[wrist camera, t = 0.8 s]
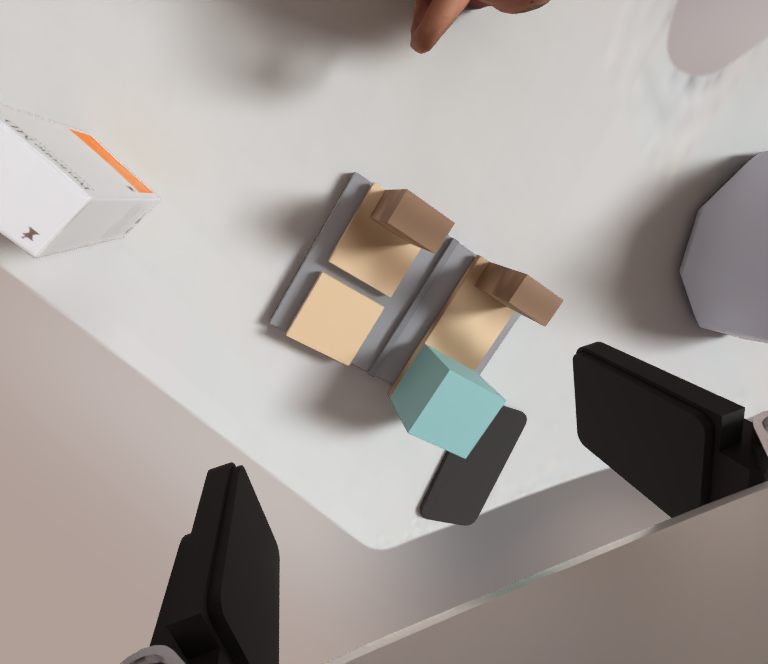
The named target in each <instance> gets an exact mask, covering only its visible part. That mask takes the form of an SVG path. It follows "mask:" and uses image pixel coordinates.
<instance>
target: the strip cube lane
mask: <svg viewBox="0 0 768 664" xmlns="http://www.w3.org/2000/svg"><path fill="white" fill-rule="evenodd" d="M562 302H563V300H562V299H561V298H560V297H558V296H557V295H555V294H554V293H553V292H551V291H550V290H548V289H547V288H546V287H544V286H543V285H541V284H540V283H538V282H537V281H536V280H534V279H533V278H531V277H530V276H529V275H527V274H524V273H521V272H518V271H515V270H512V269H509V268H506V267H503V266H500V265H497V264H494V263H491V262H489V261H487V260H486V259H484V258H483V257H481V256H479V255H476V257H475V258H474V260H473V261H472V263H471V265H470V266H469V268H468V269H467V271H466V272H465V274H464V275H463V277H462V279H461V280H460V282H459V283H458V285H457V286H456V288H455V289H454V291H453V293H452V294H451V296H450V297H449V299H448V300H447V302H446V304H445V305H444V307H443V308H442V310H441V311H440V313H439V314H438V316H437V318H436V319H435V321H434V322H433V324H432V325H431V327H430V328H429V330H428V332H427V333H426V335H425V336H424V338H423V339H422V341H421V342H420V344H419V346H418V347H417V349H416V350H415V352H414V353H413V355H412V356H411V358H410V360H409V361H408V363H407V364H406V366H405V367H404V369H403V371H402V372H401V374H400V375H399V377H398V378H397V380H396V381H395V383H394V385H393V386H392V388H391V389H390V391H389V392H388V396H389V398H390V396H391V395H392V393H393V392H394V390H395V389H396V387H397V385H398V384H399V382H400V381H401V379H402V378H403V376H404V375H405V373H406V371H407V370H408V368H409V367H410V365H411V364H412V362H413V361H414V359H415V358H416V356H417V354H418V353H419V351H420V350H421V348H422V347H423V345H424V344H427V345H429V346H430V347H432V348H434V349H436V350H438V351H439V352H441V353H443V354H445V355H447V356H448V357H450V358H452V359H454V360H456V361H457V362H459V363H461V364H463V365H465V366H467V367H468V368H470V369H472V370H474V371H475V370H476V368H477V367H478V365H479V364H480V362H481V361H482V359H483V358H484V356H485V355H486V353H487V352H488V350H489V349H490V347H491V346H492V344H493V343H494V341H495V340H496V338H497V337H498V335H499V334H500V332H501V331H502V330H503V328H504V327H505V325H506V324H507V322H508V321H509V319H510V318H511V316H512V315H513V313H514V312H515V311H516V312H518V313H520V314H522V315H524V316H526V317H528V318H530V319H531V320H533V321H535V322H537V323H539V324H541V325H543V326H546V325H547V324H548V322H549V321H550V319H551V318H552V316H553V315H554V313H555V312H556V311H557V309H558V308H559V306H560V305H561V303H562Z"/></svg>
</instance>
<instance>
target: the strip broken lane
mask: <svg viewBox="0 0 768 664" xmlns="http://www.w3.org/2000/svg"><path fill="white" fill-rule="evenodd" d="M454 224H455V223H454V222H453V221H451V220H450V219H448V218H447V217H446V216H444V215H443V214H441V213H440V212H438V211H437V210H436V209H434V208H433V207H431V206H430V205H429V204H427V203H426V202H424V201H423V200H422V199H420V198H419V197H417V196H416V195H415V194H413V193H412V192H410V191H409V190H408V189H401V190H385V189H383V188H382V187H381V186H379V185H378V184H376V183H372V185H371V187H370V188H369V190H368V192H367V194H366V195H365V197H364V199H363V200H362V202H361V204H360V206H359V207H358V209H357V211H356V213H355V214H354V216H353V218H352V219H351V221H350V223H349V225H348V226H347V228H346V230H345V232H344V233H343V235H342V237H341V238H340V240H339V242H338V244H337V245H336V247H335V249H334V251H333V252H332V254H331V256H330V257H329V259H328V261H329V262H331V263H332V264H334V265H336V266H337V267H339V268H341V269H343V270H344V271H346V272H348V273H349V274H351V275H353V276H355V277H356V278H358V279H360V280H361V281H363V282H365V283H367V284H368V285H370V286H372V287H373V288H375V289H377V290H379V291H380V292H382V293H384V294H385V295H387V296H389V297H392V295H393V293H394V292H395V290H396V288H397V287H398V285H399V284H400V282H401V280H402V279H403V277H404V275H405V274H406V272H407V271H408V269H409V267H410V266H411V264H412V262H413V261H414V259H415V258H416V256H417V254H418V253H419V251H420V249H421V248H422V249H424V250H427V251H429V252H432V253H434V254H436V252H437V251H438V249H439V248H440V246H441V244H442V243H443V241H444V240H445V238H446V236H447V235H448V233H449V232H450V230H451V228H452V227H453V225H454Z"/></svg>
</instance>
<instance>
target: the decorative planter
mask: <svg viewBox="0 0 768 664" xmlns="http://www.w3.org/2000/svg"><path fill="white" fill-rule="evenodd" d="M549 1H550V0H416V1H415V7H414V14H413V22H412V26H411V43H410V45H411V47H412V48H413V49H414V50H415V51H416V52H418V53H420V54H422V53H426V52H427V51H429V50H430V49H431V48H432V47H433V46H434V45H435V44H436V42H437V41H438V40H439V39H440V37H441V36H442V35H443V34H444V33H445V31H446V30H447V29H448V28H449V27H450V25H451V24H452V23H453V22H454V21H455V19H456V18H457V17H458V16H459V15H460V14H461V12H462V11H463V10H464V9H471V10H472V9H481V8H483V7H486V6H493V7H494V8H496V9H498V10H499V11H501V12H504V13H510V14H517V13H524V12H528V11H531V10H534V9H537V8H540V7H542V6H543V5H545V4H546V3H548V2H549Z"/></svg>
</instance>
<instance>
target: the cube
mask: <svg viewBox="0 0 768 664" xmlns="http://www.w3.org/2000/svg"><path fill="white" fill-rule="evenodd" d="M390 400H391V402H392V404H393V405H394V407H395V409H396V411H397V413H398V415H399V417H400V419H401V421H402V423H403V425H404V427H405V428H406V430H407V432H408V433H409V434H411V435H413V436H416V437H418V438H420V439H422V440H424V441H427V442H429V443H431V444H433V445H436V446H438V447H440V448H442V449H445V450H447V451H449V452H451V453H453V454H456V455H458V456H460V457H462V458H465V459H466V458H467V456H468V455H469V453H470V452H471V450H472V449H473V448H474V446H475V445H476V443H477V442H478V440H479V439H480V438H481V436H482V435H483V433H484V432H485V430H486V429H487V428H488V426H489V425H490V423H491V422H492V420H493V419H494V418H495V416H496V415H497V413H498V412H499V410H500V409H501V408H502V406H503V405H504V403H505V402H506V400H505V399H504V398H503V397H502V396H501V395H500V394H499V393H498V392H497V391H496V390H495V389H493V388H492V387H491V386H490V385H489V384H488V383H487V382H486V381H485V380H484V379H483V378H482V377H481V376H479V375H478V374H477V373H476V372H475V371H474V370H472V369H470V368H468V367H467V366H465V365H463V364H461V363H459V362H457V361H456V360H454V359H452V358H450V357H448V356H447V355H445V354H443V353H441V352H439V351H438V350H436V349H434V348H432V347H430V346H429V345H427V344H424V345H423V347H422V348H421V350H420V351H419V353H418V354H417V356H416V358H415V359H414V361H413V362H412V364H411V365H410V367H409V368H408V370H407V371H406V373H405V375H404V376H403V378H402V379H401V381H400V382H399V384H398V385H397V387H396V389H395V390H394V392H393V393H392V395H391V396H390Z"/></svg>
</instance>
